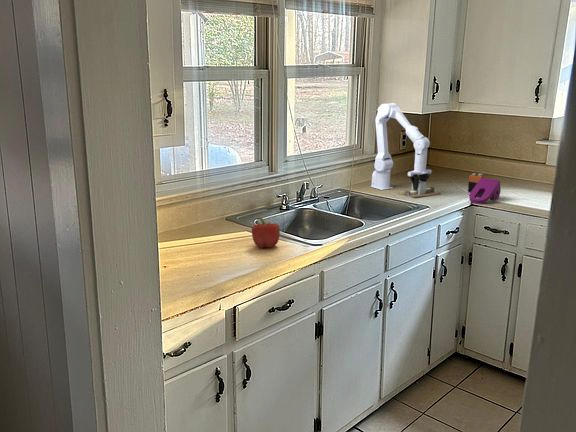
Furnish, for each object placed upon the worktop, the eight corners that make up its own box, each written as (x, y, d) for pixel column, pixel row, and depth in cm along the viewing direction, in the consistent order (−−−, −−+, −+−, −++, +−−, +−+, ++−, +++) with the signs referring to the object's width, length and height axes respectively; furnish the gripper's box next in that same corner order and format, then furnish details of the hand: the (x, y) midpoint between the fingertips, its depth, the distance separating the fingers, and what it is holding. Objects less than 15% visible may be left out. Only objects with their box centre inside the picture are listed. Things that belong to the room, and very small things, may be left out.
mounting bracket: (486, 215, 280) (501, 194, 290) (484, 201, 276) (499, 180, 285) (467, 212, 286) (482, 191, 296) (465, 198, 282) (481, 177, 291)
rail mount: (398, 193, 296) (399, 188, 296) (424, 190, 306) (424, 184, 305) (414, 198, 287) (414, 192, 287) (440, 194, 297) (440, 188, 296)
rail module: (411, 192, 297) (411, 180, 296) (416, 191, 299) (417, 179, 298) (419, 194, 292) (420, 182, 291) (425, 193, 295) (426, 182, 293)
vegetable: (245, 244, 214) (245, 218, 212) (269, 240, 220) (269, 214, 217) (261, 252, 206) (261, 225, 203) (285, 247, 211) (285, 221, 209)
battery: (480, 194, 298) (482, 175, 295) (467, 192, 302) (469, 173, 300) (483, 192, 301) (485, 173, 299) (471, 190, 305) (472, 172, 303)
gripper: (415, 164, 285) (413, 192, 288) (436, 162, 292) (434, 188, 296) (405, 162, 290) (403, 189, 294) (426, 160, 298) (424, 186, 302)
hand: (418, 188), depth 295 cm, fingers closed on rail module, 4 cm apart
